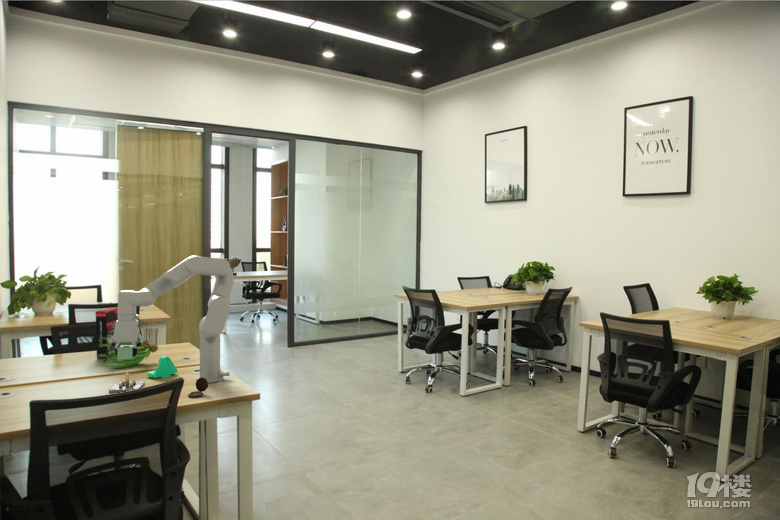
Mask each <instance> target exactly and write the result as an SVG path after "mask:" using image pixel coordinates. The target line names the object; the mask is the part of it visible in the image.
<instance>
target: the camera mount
mask: <svg viewBox="0 0 780 520" xmlns="http://www.w3.org/2000/svg"><path fill="white" fill-rule="evenodd" d="M177 373H178V369H177V367H176V365H175V364H174V362H173V361H172V359H171V357H169V356H166V355H161V356H160V357H159V358H158V365H157V367H156V368H155V370H151V371H147V372H146V375H147V376H148V377H150V378H155V379H156V378H161V379H165V378H168V377H171V376H172V375H173V374H177Z"/></svg>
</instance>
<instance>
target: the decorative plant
mask: <svg viewBox="0 0 780 520" xmlns="http://www.w3.org/2000/svg"><path fill="white" fill-rule="evenodd" d="M114 325H115V324H114ZM109 327H110V326H109ZM113 331H114V330H113ZM109 332H111V331H109ZM111 333H112V332H111ZM140 335H141V336H142V334H141V333H140ZM111 337H112V336H111ZM101 339H104V337H102V338H101ZM108 339H109V338H108ZM108 339H105V340H108ZM113 341H114V339H113ZM140 341H141V340H140V339H139V340H137V343H139V342H140ZM100 345H103V346H110V348H111V347H113V346H112V345H111V344H100ZM121 345H133V344H132V342H127V343H120V345H119V347H120V346H121ZM97 346H98V345H97V344H96V347H97ZM100 347H102V346H100ZM110 348H109V349H110ZM104 350H105V349H104ZM158 350H159V347H158V345H157V344H155V343H150V342H148V341H147V340H146V339H145V341H144V342H143V343H141V344H140V345H139V346H138V347H137V355H136V356H135V357H133V358H132V359H117V355H114V354H115V351H113V352H114V353H112V352H109V353H111V354H108V355H105V356H102V357H107V356H110V355H113V356H111V357H109V358H108V357H107V358H106V359H104V360H103V361H102V362H103V363H100V362H99V365H101V366H102V367H104V368H107V369H110V370H112V369H113V370H118V369H119V370H120V369H125V368H128V367H129V368H130V367H134V366H137V365H139V364H140V363H141V362H142V361H143V360H144V359H148V357H149V356H150V355H151V354H152V353H156V352H157V351H158ZM99 358H101V357H99ZM99 358H98V359H99ZM107 363H110V364H114V366H110V365H107Z"/></svg>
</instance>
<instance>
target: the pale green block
mask: <svg viewBox="0 0 780 520" xmlns="http://www.w3.org/2000/svg"><path fill="white" fill-rule="evenodd" d="M133 348H134V346H133V345H121V346H120V347H118V348H117V359H132V358H134V357H133Z"/></svg>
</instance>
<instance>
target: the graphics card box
mask: <svg viewBox="0 0 780 520" xmlns="http://www.w3.org/2000/svg"><path fill="white" fill-rule="evenodd" d="M116 320H118V307H109V308H105V309H101V310H97V311H95V333H96V334H95V336H96V337H95V338H96V339H95V341H96V358H97V359H100V360H101V359H102V360H103V359H104V360H106V359H107V357H108V358H109V357H111V356H113V355H110V356H107V357H102V356H105V355H108V354H111V353H109V352H112V353H114V352H113V351H115V348H114V347H111V348H110V346H103V345H100V344H110V343H109V342H108V340H105V339H108V338H111V336H113V335H114V331H113V330H114V329H115V325H114V324H115V323H116ZM109 326H110V327H109ZM109 331H111V332H112V333H111V332H109ZM102 337H104V339H101V338H102ZM113 342H114V341H113ZM115 343H117V342H115ZM97 345H98V346H97ZM100 346H102V347H100ZM109 348H110V349H109ZM104 349H105V350H104ZM114 355H115V354H114ZM99 357H101V358H99Z"/></svg>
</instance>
